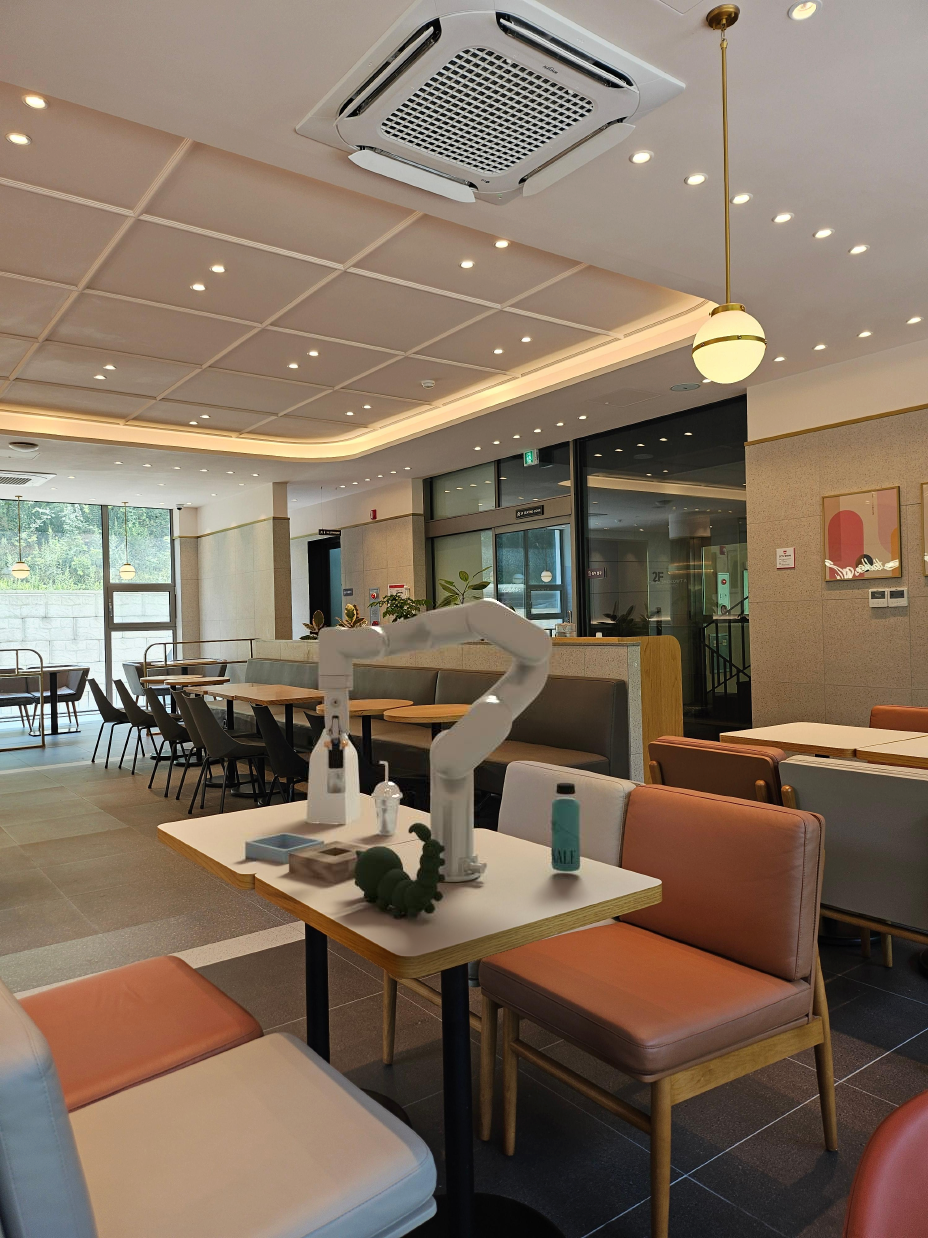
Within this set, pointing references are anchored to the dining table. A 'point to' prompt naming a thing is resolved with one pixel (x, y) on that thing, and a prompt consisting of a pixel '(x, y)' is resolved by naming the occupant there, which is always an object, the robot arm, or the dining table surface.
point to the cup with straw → (386, 804)
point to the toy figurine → (401, 877)
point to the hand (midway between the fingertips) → (336, 765)
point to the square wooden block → (326, 861)
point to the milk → (328, 804)
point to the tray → (278, 847)
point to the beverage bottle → (565, 830)
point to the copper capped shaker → (336, 773)
